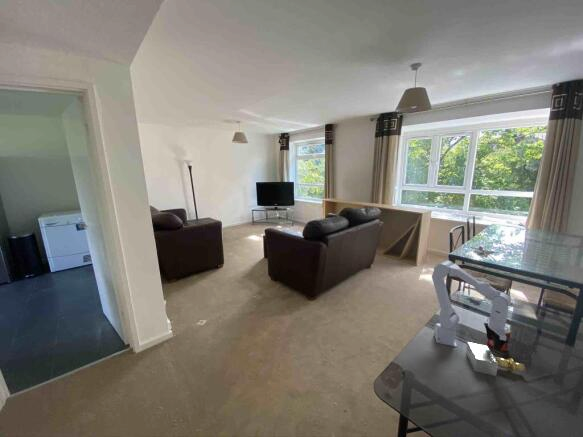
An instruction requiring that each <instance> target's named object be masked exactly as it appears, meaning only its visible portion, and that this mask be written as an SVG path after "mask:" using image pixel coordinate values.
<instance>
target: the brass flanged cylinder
mask: <svg viewBox="0 0 583 437" xmlns="http://www.w3.org/2000/svg"><path fill="white" fill-rule="evenodd" d="M494 358H495V360H496V361H497V363H498V368H501V369H505V370H509V372H512V373H515V372H516V371H520V372H524V373H525V372H526V366H525V364H524V363H519V362H515V360H514V359H513V358H512V357H508V358H503V357H499V356H494Z"/></svg>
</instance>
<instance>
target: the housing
mask: <svg viewBox="0 0 583 437" xmlns="http://www.w3.org/2000/svg"><path fill="white" fill-rule="evenodd" d="M489 348H490V347H488V346H487V345H485V344H480V343H476V342H475V343H474V342H470V341H467V343H466V350H465V353H466V357H467V358H468V361H469V362H470V365H471V366H472V369H473V371H474V372H478V373H482V374H486V375H489V376H493V377H497V372H498V368H499V367H498V363H497V361H496V360H495V356H494V355H493V352H491V350H490V349H489Z"/></svg>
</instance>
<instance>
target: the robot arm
mask: <svg viewBox="0 0 583 437" xmlns="http://www.w3.org/2000/svg"><path fill="white" fill-rule="evenodd" d="M447 276H449V277H458V278H460V279H461V280H463V281H464V282H466V283H468V284H469V285H471V286H473V287H474V290H475V291H476V292H477V293H478V294H480V295H481V296H482V297H485V298H486V299H488V300H489V301H491V308H490V315H489V317H487V319H486V322H484V323H483V325H484V327H485V332H486V339H487V340H488V339H490V340H494V348H493V349H494V350H496V351H500V350H501V348H502V347H503V345H504V344H505V343H507V342H508V341H509V342H510V339H509V340H508V338H507V337H506V335H505V331H508V329H507V328H508V327H507V326H506V325H507V324H506V323H507V318H508V313H509V305H510V304H511V301H512V298H511V297H510V295H509V294H508V293H507V292H504V291H500V290H497V289H496V288H494V287H493V286H491V285H490V283H489V282H485V281H481V280H477V278H475V277H474V276H473V275H471V274H469V273H468V272H467V271H465V270H464V269H462V268H461V267H460V266H459V265H458V264H457V263H454V262H453V261H451V260H448V259H447V260H444V261H442V262H441V263H438V264H437V265H435V266H434V267H433V272H432V275H431V279H432V283H433V287H434V289H435V294H436V297H437V300H438V304H439V307H440V310H439V322H436V323H435V325H434V330H433V335H434V339H435V341H436V343H438V344H442V345H446V346H450V347H453V348H454V347H455V348H458V345H457V343H456V335H457V323H459V322H460V316H458V314H457V312H456V309H455V308H453V307H452V304H451V299H450V296H449V292H448V289H447V286H446V283H445V278H446V277H447ZM505 326H506V327H507V328H506V327H505ZM496 333H497V335H495V334H496Z"/></svg>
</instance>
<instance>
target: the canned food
mask: <svg viewBox="0 0 583 437" xmlns="http://www.w3.org/2000/svg"><path fill="white" fill-rule="evenodd" d="M505 327H506V328H507V329H508V331H505V335H506V337H507V338H508V340H509V341H508V342H507V343H505V344H504V345H503V347H502V348H501V350H500V351H501V352H506V351H508V346H509V342H510V337H511V335H512V333H511V332H512V330H511V329H510V328H509V327H507V326H506V325H505ZM495 335H497V333H496V334H495ZM487 344H488V346H490V347H491V348H492V349H494V340H490V339H487Z"/></svg>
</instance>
